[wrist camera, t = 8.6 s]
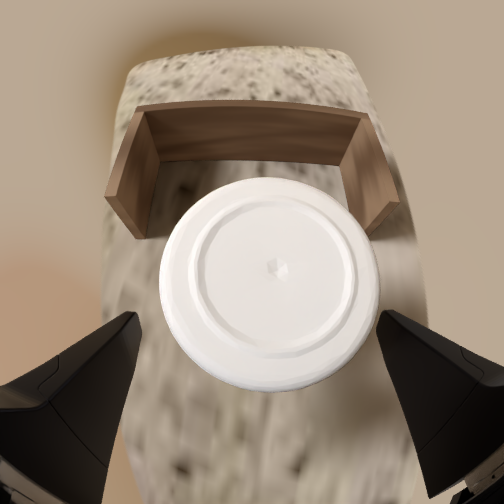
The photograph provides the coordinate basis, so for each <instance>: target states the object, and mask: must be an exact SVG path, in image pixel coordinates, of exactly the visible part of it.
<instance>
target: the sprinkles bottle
mask: <svg viewBox="0 0 504 504" xmlns="http://www.w3.org/2000/svg"><path fill="white" fill-rule="evenodd" d="M159 291H160V299H161V304H162V308H163V312H164V315H165V319H166V321H167V323H168V326H169V328H170V330H171V332H172V334H173V336H174V338H175V339H176V340H177V342H178V343H179V345H180V346H181V348H182V349H183V350H184V352H185V353H186V354H187V355H188V356H189V357H190V358H191V359H192V360H193V361H194V362H195V363H196V364H197V365H198V366H200V367H201V368H202V369H203V370H205V371H206V372H208V373H209V374H211V375H212V376H214V377H216V378H217V379H219V380H221V381H223V382H226V383H228V384H231V385H233V386H236V387H239V388H243V389H246V390H250V391H258V392H273V393H274V392H287V391H293V390H298V389H302V388H305V387H308V386H311V385H313V384H316V383H318V382H320V381H322V380H324V379H326V378H328V377H330V376H331V375H333V374H334V373H336V372H337V371H339V370H340V369H341V368H342V367H343V366H345V365H346V364H347V363H348V362H349V361H350V360H351V359H352V358H353V357H354V356H355V354H356V353H357V352H358V351H359V349H360V348H361V346H362V345H363V344H364V342H365V341H366V339H367V337H368V335H369V333H370V332H371V329H372V326H373V324H374V322H375V318H376V314H377V311H378V306H379V299H380V275H379V268H378V263H377V259H376V256H375V253H374V250H373V247H372V245H371V242H370V240H369V238H368V237H367V235H366V233H365V232H364V230H363V228H362V227H361V225H360V224H359V223H358V222H357V220H356V219H355V218H354V217H353V215H352V214H351V213H350V212H349V211H348V210H347V209H346V208H345V207H343V206H342V205H341V204H340V203H339V202H338V201H336V200H335V199H334V198H332V197H331V196H330V195H328V194H326V193H324V192H323V191H321V190H319V189H317V188H315V187H312V186H309V185H307V184H304V183H301V182H298V181H293V180H289V179H283V178H271V177H260V178H252V179H245V180H241V181H237V182H234V183H231V184H228V185H225V186H223V187H220V188H218V189H216V190H214V191H212V192H211V193H209V194H208V195H206V196H205V197H203V198H202V199H201V200H199V201H198V202H197V203H196V204H194V205H193V206H192V207H191V208H190V209H189V210H188V211H187V212H186V213H185V214H184V215H183V217H182V218H181V219H180V221H179V222H178V223H177V225H176V226H175V228H174V230H173V232H172V233H171V235H170V237H169V240H168V242H167V244H166V247H165V250H164V253H163V256H162V261H161V267H160V275H159Z"/></svg>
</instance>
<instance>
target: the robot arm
mask: <svg viewBox="0 0 504 504" xmlns="http://www.w3.org/2000/svg"><path fill="white" fill-rule="evenodd" d="M376 334H377V337H378V340H379V344H380V347H381V351H382V354H383V358H384V361H385V364H386V367H387V370H388V372H389V375H390V377H391V380H392V382H393V385H394V388H395V390H396V393H397V396H398V398H399V401H400V404H401V407H402V410H403V412H404V415H405V418H406V421H407V424H408V427H409V430H410V433H411V436H412V439H413V443H414V446H415V449H416V452H417V456H418V460H419V463H420V467H421V470H422V474H423V478H424V482H425V485H426V489H427V494H428V497H429V499H431V498H433V497H435V496H437V495H439V494H440V493H442V492H444V491H446V490H448V489H449V488H451V487H453V486H455V485H456V484H458V483H460V482H461V481H462V480H465V482H466V485H467V487H466V488H465V489H463V490H462V491H460V492H459V493H457V494H455V495H454V496H453V497H452V500H451V502H450V504H504V367H503V366H501V365H499V364H496V363H494V362H492V361H490V360H488V359H485V358H483V357H481V356H479V355H477V354H475V353H473V352H471V351H469V350H467V349H466V348H464V347H462V346H459V345H458V344H456V343H454V342H452V341H451V340H449V339H447V338H445V337H443V336H441V335H439V334H438V333H436V332H434V331H432V330H430V329H428V328H426V327H424V326H423V325H421V324H419V323H417V322H415V321H413V320H411V319H409V318H407V317H405V316H404V315H402V314H400V313H398V312H396V311H394V310H383V311H382V312H381V315H380V318H379V321H378V324H377V327H376ZM141 337H142V329H141V325H140V321H139V317H138V314H137V313H136V312H131V311H126V312H124V313H122V314H121V315H119V316H118V317H116V318H115V319H113V320H111V321H110V322H108V323H107V324H105V325H103V326H102V327H100V328H99V329H97V330H96V331H94V332H92V333H91V334H89V335H88V336H86V337H84V338H83V339H82V340H80V341H78V342H77V343H75V344H74V345H72V346H70V347H69V348H67V349H66V350H64V351H63V352H61V353H60V354H59V355H56V356H55V357H53V358H52V359H50V360H49V361H47V362H45V363H44V364H42V365H40V366H39V367H37V368H35V369H33V370H31V371H30V372H28V373H26V374H24V375H23V376H20V377H18V378H17V379H15V380H13V381H11V382H9V383H7V384H5V385H2V386H0V504H101V503H102V498H103V492H104V487H105V482H106V477H107V472H108V467H109V462H110V458H111V454H112V450H113V446H114V441H115V437H116V433H117V429H118V426H119V422H120V419H121V415H122V411H123V408H124V404H125V401H126V397H127V394H128V391H129V387H130V384H131V381H132V378H133V375H134V371H135V367H136V362H137V357H138V352H139V347H140V342H141Z"/></svg>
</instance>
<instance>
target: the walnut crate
mask: <svg viewBox="0 0 504 504" xmlns="http://www.w3.org/2000/svg"><path fill="white" fill-rule="evenodd" d="M189 160H262V161H285V162H302V163H315V164H327V165H337V166H339V167H340V171H341V175H342V179H343V184H344V189H345V193H346V198H347V203H348V208H349V212H350V213H351V214H352V215H353V217H354V218H355V219H356V220H357V222H358V223H359V224H360V225H361V227H362V228H363V230H364V232H365V233H366V235H367V237H368V236H369V235H370V234H371V233H372V232H373V231H374V230H375V229H376V228H377V227H378V226H379V225H380V224H381V223H382V222H383V220H384V219H385V218H386V217H387V216H388V215H389V214H390V213H391V212H392V211H393V210H394V208H395V207H396V206H397V205H398V204H399V203H400V201H399V197H398V194H397V191H396V187H395V184H394V181H393V178H392V175H391V172H390V169H389V166H388V163H387V161H386V158H385V155H384V152H383V150H382V147H381V145H380V142H379V139H378V137H377V134H376V132H375V130H374V127H373V125H372V123H371V120H370V118H369V116H368V114H367V113H362V112H357V111H351V110H346V109H340V108H333V107H326V106H319V105H310V104H301V103H290V102H277V101H258V100H203V101H185V102H172V103H161V104H152V105H144V106H137V108H136V110H135V112H134V115H133V117H132V119H131V122H130V124H129V126H128V129H127V131H126V134H125V136H124V139H123V142H122V144H121V147H120V150H119V152H118V155H117V158H116V161H115V164H114V167H113V170H112V173H111V176H110V179H109V182H108V185H107V189H106V192H105V196H104V197H105V198H106V200H107V201H108V203H109V204H110V205H111V207H112V208H113V210H114V211H115V212H116V214H117V215H118V216H119V218H120V219H121V220H122V222H123V223H124V224H125V226H126V227H127V228H128V230H129V231H130V232H131V233H132V235H133V236H134V237H135V239H145V237H146V231H147V225H148V219H149V214H150V208H151V203H152V198H153V193H154V188H155V183H156V179H157V174H158V170H159V166H160V162H166V161H189Z"/></svg>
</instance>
